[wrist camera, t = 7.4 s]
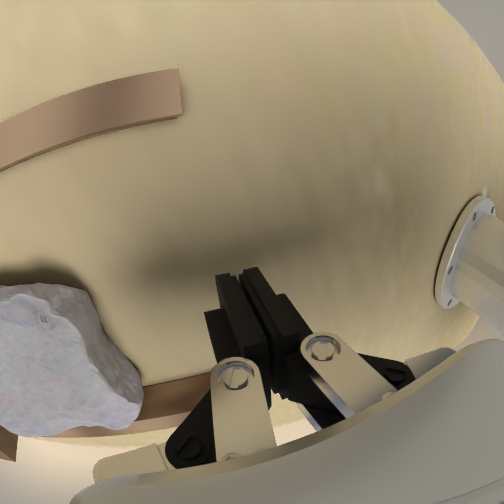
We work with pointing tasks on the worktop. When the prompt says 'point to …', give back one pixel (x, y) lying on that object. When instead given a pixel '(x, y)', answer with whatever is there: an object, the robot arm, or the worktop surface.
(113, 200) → the worktop surface
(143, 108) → the brown u-shaped frame
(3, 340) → the stone block
